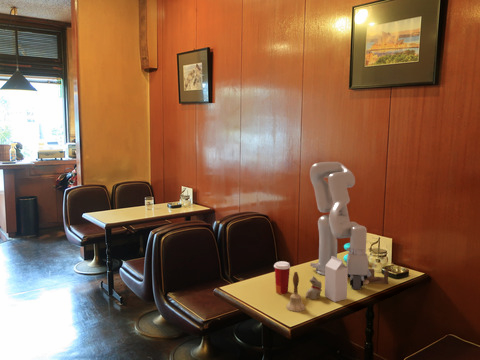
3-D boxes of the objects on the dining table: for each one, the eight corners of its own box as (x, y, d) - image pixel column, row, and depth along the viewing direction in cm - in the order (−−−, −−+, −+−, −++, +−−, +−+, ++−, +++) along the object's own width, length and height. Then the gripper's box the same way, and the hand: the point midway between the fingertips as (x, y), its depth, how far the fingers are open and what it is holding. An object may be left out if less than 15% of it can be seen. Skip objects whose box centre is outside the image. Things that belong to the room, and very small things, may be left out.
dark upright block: (353, 289, 188) (353, 273, 187) (352, 286, 192) (353, 270, 191) (360, 289, 187) (361, 274, 186) (359, 286, 191) (360, 271, 190)
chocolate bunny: (323, 299, 177) (323, 278, 175) (305, 299, 177) (306, 278, 176) (320, 294, 182) (321, 273, 181) (304, 294, 182) (304, 273, 181)
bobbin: (354, 284, 194) (355, 263, 193) (353, 279, 201) (354, 258, 199) (369, 285, 192) (370, 264, 191) (368, 280, 199) (368, 259, 198)
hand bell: (283, 309, 167) (283, 273, 165) (290, 301, 174) (291, 267, 172) (300, 313, 163) (301, 277, 161) (308, 306, 170) (309, 271, 168)
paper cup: (291, 289, 187) (291, 262, 185) (288, 296, 180) (288, 267, 178) (275, 287, 190) (276, 260, 188) (271, 294, 183) (272, 265, 181)
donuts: (360, 242, 231) (362, 247, 221) (359, 258, 232) (362, 264, 222) (343, 242, 232) (344, 246, 223) (342, 258, 234) (344, 263, 224)
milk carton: (334, 302, 173) (336, 261, 171) (324, 296, 180) (325, 257, 177) (346, 299, 177) (348, 259, 174) (336, 293, 183) (337, 254, 181)
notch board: (359, 281, 197) (359, 270, 196) (358, 278, 202) (359, 266, 201) (388, 284, 194) (389, 272, 193) (387, 280, 199) (387, 269, 198)
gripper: (340, 252, 185) (339, 288, 188) (376, 254, 182) (375, 291, 184) (339, 247, 193) (338, 282, 195) (374, 249, 189) (373, 285, 191)
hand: (356, 286), depth 189 cm, fingers closed on dark upright block, 3 cm apart
